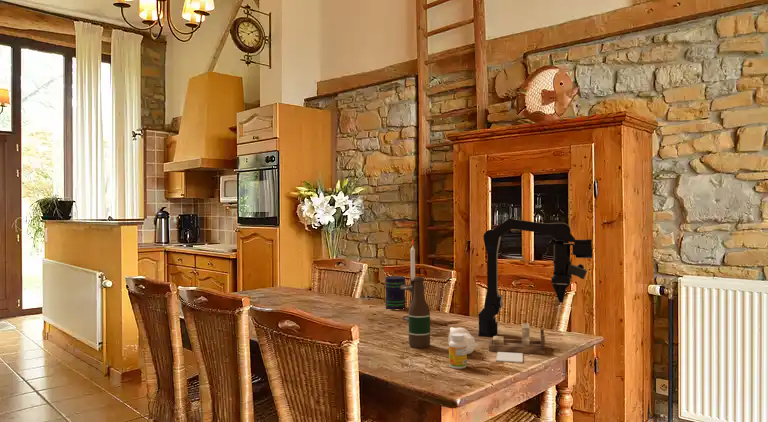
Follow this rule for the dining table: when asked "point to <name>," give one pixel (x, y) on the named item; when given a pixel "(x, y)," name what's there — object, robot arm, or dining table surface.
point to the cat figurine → (467, 338)
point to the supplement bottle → (457, 351)
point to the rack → (520, 346)
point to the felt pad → (509, 357)
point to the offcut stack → (498, 340)
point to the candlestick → (411, 286)
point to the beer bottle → (419, 317)
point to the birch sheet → (525, 334)
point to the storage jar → (395, 292)
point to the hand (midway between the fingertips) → (561, 300)
